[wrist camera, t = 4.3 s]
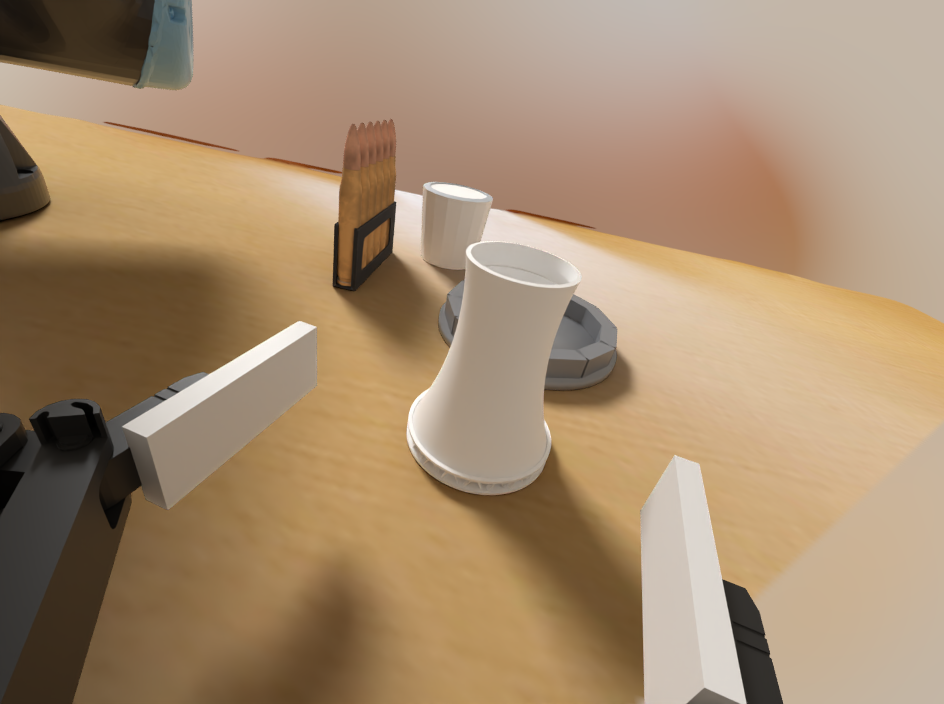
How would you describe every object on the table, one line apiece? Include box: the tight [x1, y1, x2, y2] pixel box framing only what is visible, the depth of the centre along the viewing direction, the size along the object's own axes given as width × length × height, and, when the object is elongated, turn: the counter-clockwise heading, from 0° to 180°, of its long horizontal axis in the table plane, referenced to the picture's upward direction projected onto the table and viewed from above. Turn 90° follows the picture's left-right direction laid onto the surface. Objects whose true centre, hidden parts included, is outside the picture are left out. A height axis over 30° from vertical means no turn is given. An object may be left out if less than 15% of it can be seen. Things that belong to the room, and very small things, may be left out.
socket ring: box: [438, 280, 617, 390], centre depth 33 cm, size 14×14×2 cm
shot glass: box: [421, 182, 493, 270], centre depth 43 cm, size 7×7×7 cm
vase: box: [406, 241, 582, 495], centre depth 20 cm, size 8×8×10 cm
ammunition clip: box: [333, 119, 396, 291], centre depth 36 cm, size 11×2×12 cm, turn 173°
